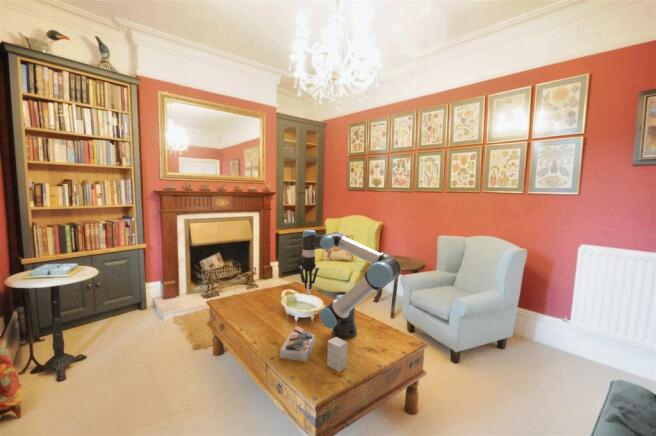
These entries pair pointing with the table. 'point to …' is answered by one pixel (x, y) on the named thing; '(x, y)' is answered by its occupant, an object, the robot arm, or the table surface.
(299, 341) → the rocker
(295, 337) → the rocker
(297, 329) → the rocker
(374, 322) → the table surface
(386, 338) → the table surface
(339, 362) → the small box
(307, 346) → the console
